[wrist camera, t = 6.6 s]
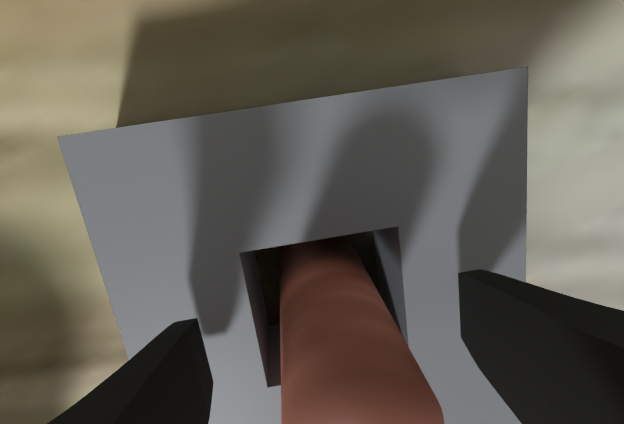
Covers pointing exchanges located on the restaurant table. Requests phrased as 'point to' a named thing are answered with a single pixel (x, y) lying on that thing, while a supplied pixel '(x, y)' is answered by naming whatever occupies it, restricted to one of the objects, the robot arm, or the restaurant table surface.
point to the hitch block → (312, 222)
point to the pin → (343, 344)
